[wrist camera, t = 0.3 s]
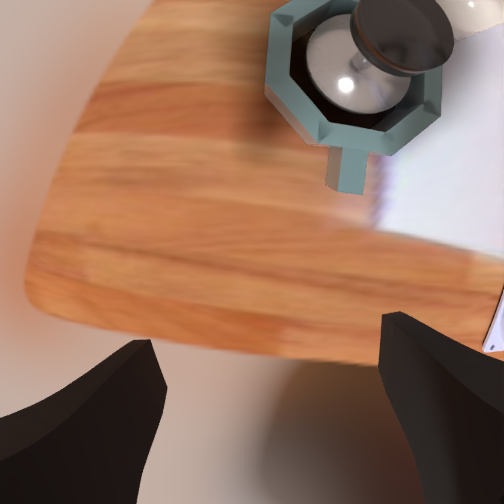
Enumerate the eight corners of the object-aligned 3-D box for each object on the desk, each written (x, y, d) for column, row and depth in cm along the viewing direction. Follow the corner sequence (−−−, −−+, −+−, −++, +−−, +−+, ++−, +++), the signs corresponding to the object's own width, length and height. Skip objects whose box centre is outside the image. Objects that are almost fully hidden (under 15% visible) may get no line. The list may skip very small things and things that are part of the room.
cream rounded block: (468, -2, 12) (503, -22, 8) (474, 48, 14) (514, 34, 9) (415, -25, 12) (444, -53, 8) (419, 26, 14) (455, 2, 9)
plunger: (406, 32, 11) (468, -10, 6) (403, 123, 13) (475, 116, 7) (307, 10, 12) (331, -56, 6) (301, 105, 13) (327, 76, 7)
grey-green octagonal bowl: (412, 30, 14) (439, 12, 10) (402, 195, 17) (430, 206, 14) (272, 2, 14) (274, -27, 10) (256, 176, 17) (255, 183, 14)
